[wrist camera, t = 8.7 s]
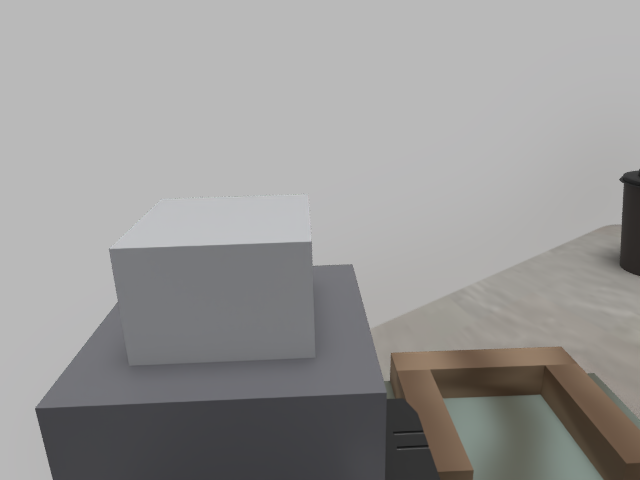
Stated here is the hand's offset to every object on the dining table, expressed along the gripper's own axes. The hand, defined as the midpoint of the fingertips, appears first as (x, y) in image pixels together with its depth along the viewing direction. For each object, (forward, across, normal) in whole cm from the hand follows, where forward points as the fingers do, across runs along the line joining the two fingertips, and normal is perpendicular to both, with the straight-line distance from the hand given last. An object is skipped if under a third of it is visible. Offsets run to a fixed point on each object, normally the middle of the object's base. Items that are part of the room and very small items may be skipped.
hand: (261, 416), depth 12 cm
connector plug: (-3, 0, +6) cm, 7 cm away
